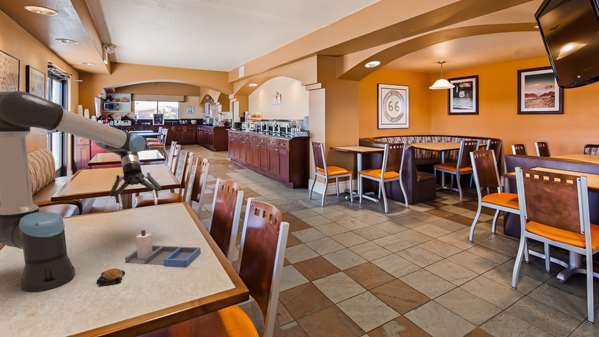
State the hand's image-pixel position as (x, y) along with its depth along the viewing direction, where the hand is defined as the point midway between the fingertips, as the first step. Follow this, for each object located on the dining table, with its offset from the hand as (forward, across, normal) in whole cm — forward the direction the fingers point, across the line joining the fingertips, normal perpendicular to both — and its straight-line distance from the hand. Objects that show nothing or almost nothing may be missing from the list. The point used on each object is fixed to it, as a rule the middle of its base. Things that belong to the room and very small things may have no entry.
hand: (139, 206), depth 141 cm
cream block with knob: (+22, +1, -4) cm, 22 cm away
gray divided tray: (+25, -5, -1) cm, 26 cm away
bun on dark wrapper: (+31, +14, +4) cm, 34 cm away
